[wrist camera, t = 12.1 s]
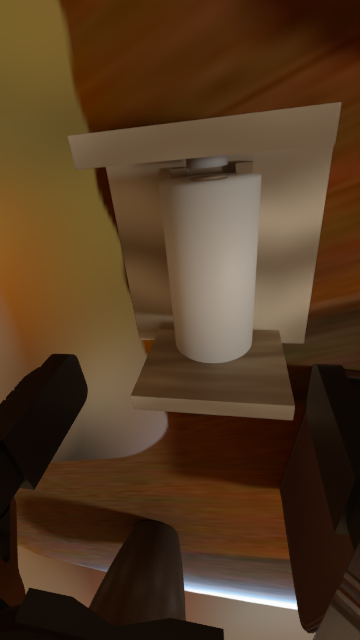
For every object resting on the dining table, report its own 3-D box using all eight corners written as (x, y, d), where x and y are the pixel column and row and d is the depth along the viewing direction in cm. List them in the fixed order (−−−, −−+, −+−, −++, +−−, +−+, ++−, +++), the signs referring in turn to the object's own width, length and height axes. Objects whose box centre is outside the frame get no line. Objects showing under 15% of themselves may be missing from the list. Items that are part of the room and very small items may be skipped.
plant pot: (129, 548, 54) (92, 682, 41) (100, 504, 47) (45, 648, 34) (207, 556, 50) (196, 707, 37) (189, 509, 43) (166, 674, 30)
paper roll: (172, 174, 19) (144, 186, 14) (261, 168, 17) (262, 179, 13) (184, 319, 24) (167, 360, 20) (252, 322, 23) (251, 367, 18)
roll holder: (109, 141, 20) (23, 141, 12) (330, 115, 17) (409, 93, 9) (144, 330, 28) (105, 407, 20) (300, 333, 25) (329, 423, 17)
